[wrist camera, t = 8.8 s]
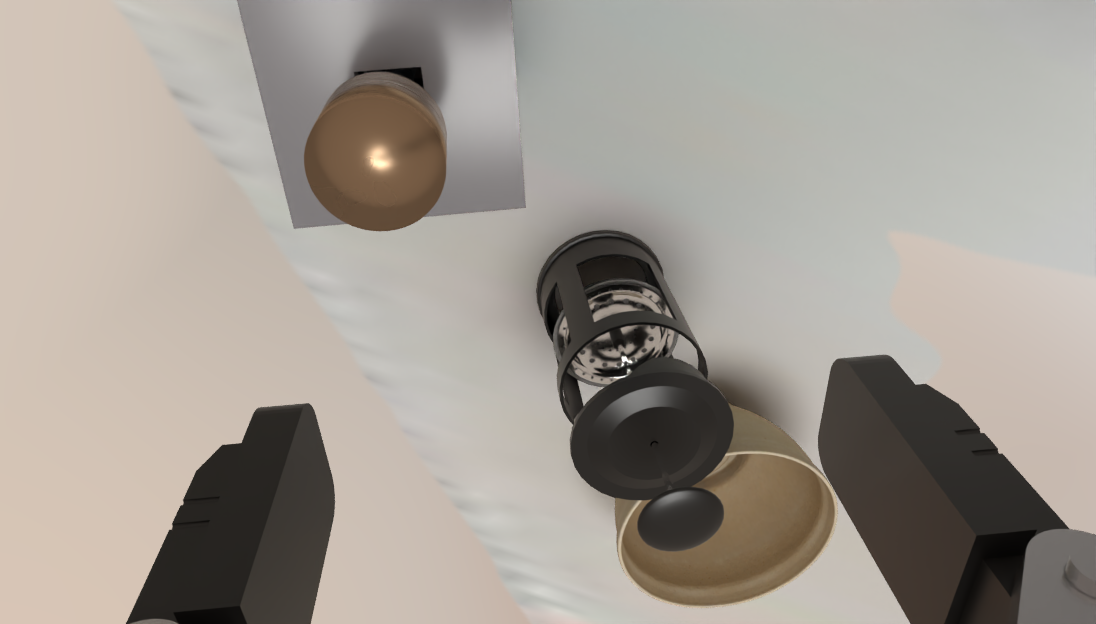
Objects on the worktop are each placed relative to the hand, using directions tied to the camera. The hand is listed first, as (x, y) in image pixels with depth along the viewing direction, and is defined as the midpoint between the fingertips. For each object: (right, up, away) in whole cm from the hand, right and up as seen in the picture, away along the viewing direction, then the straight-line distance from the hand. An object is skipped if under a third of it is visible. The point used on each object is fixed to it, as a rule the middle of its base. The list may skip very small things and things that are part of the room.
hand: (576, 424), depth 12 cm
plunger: (-8, +18, +30) cm, 36 cm away
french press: (+4, +3, +43) cm, 43 cm away
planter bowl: (+11, -9, +51) cm, 53 cm away
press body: (-8, +19, +32) cm, 38 cm away
